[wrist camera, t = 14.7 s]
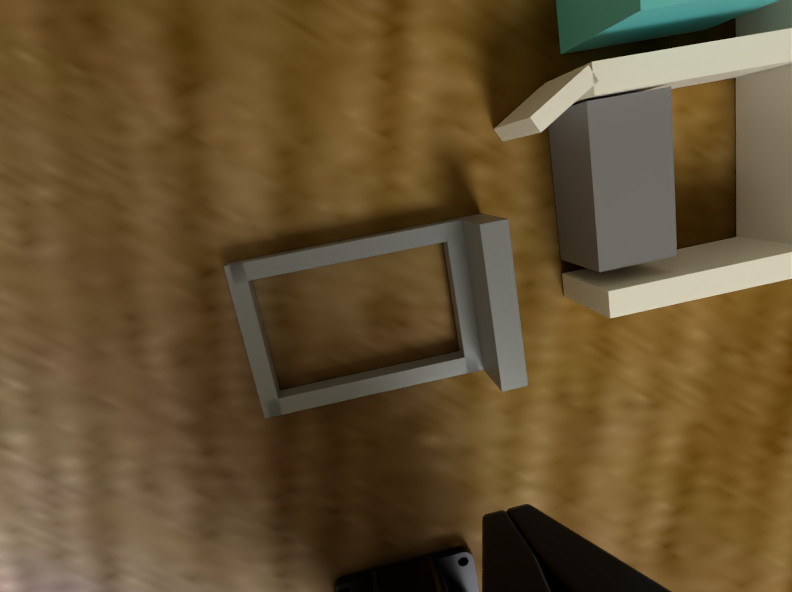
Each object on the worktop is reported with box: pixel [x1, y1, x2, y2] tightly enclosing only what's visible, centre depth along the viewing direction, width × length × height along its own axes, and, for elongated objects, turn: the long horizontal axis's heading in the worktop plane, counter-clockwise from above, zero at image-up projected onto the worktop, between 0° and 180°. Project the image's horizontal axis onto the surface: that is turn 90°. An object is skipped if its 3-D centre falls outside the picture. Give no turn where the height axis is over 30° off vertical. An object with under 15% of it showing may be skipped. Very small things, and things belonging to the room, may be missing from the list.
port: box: [494, 0, 792, 318], centre depth 17 cm, size 11×16×4 cm
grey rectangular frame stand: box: [224, 214, 528, 419], centre depth 18 cm, size 10×6×3 cm, turn 100°
